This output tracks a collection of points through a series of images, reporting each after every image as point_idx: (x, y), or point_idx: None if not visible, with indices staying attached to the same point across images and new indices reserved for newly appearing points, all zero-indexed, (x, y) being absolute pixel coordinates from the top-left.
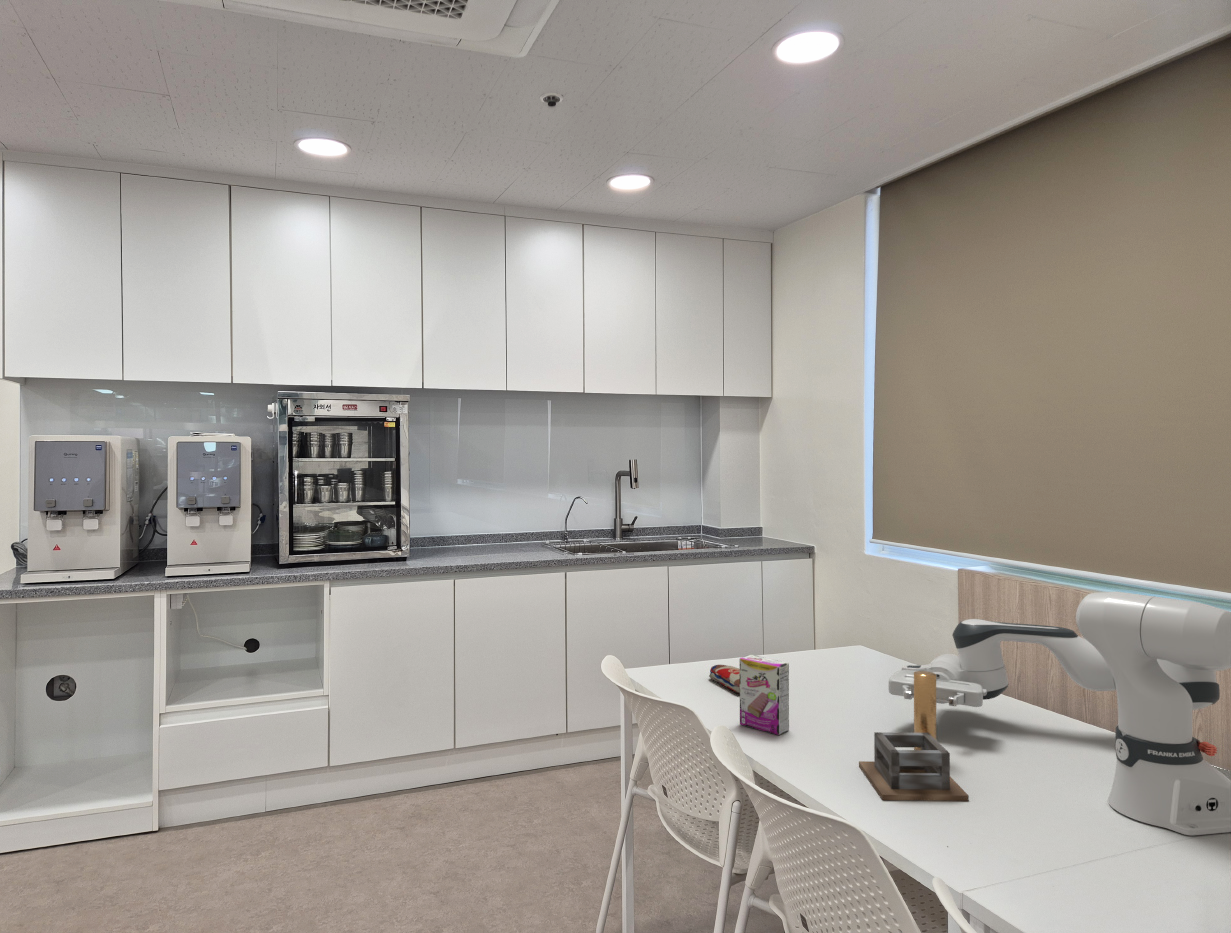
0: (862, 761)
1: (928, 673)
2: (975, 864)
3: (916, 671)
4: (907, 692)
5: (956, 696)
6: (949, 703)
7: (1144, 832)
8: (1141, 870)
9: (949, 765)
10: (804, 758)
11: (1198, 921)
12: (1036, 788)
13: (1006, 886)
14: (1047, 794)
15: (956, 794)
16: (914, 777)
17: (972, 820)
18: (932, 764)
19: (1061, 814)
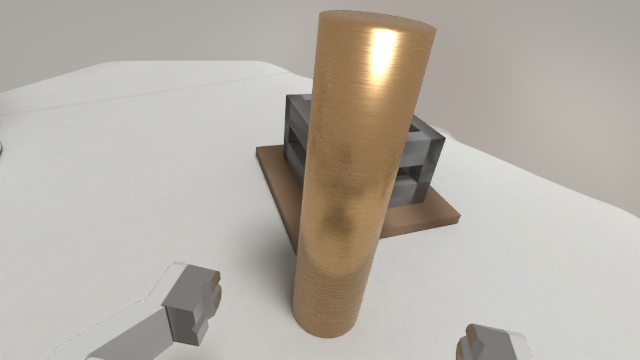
0: (454, 215)
1: (361, 21)
2: (277, 85)
3: (431, 33)
4: (497, 330)
5: (146, 304)
6: (217, 289)
7: (21, 124)
8: (115, 86)
9: (285, 116)
10: (570, 233)
11: (127, 61)
12: (92, 204)
13: (258, 74)
14: (87, 188)
15: (274, 147)
16: None
17: (263, 124)
18: None
19: (119, 143)
